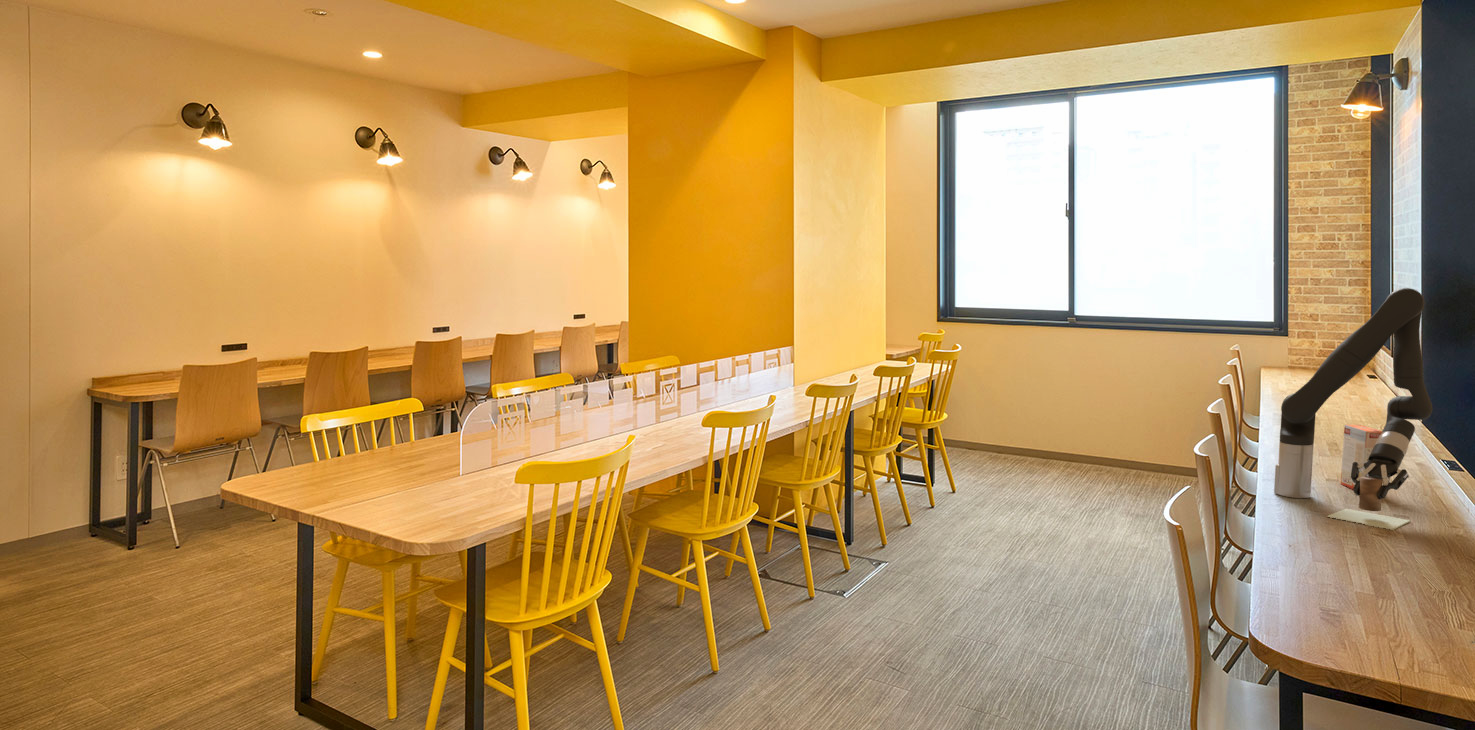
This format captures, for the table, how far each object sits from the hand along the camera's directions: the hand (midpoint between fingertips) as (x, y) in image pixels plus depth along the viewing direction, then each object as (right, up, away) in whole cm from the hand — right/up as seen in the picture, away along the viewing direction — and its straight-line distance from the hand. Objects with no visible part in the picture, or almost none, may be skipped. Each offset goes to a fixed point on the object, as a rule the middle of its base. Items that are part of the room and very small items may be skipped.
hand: (1367, 495), depth 245 cm
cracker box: (+25, -4, +37) cm, 45 cm away
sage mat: (+1, -7, +2) cm, 8 cm away
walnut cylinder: (+2, -4, +1) cm, 5 cm away
